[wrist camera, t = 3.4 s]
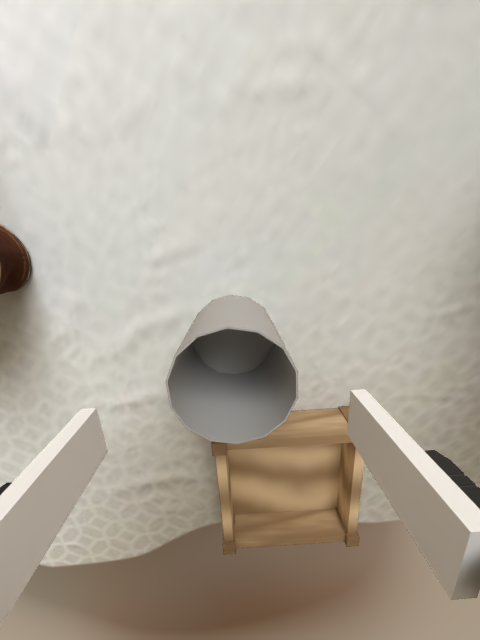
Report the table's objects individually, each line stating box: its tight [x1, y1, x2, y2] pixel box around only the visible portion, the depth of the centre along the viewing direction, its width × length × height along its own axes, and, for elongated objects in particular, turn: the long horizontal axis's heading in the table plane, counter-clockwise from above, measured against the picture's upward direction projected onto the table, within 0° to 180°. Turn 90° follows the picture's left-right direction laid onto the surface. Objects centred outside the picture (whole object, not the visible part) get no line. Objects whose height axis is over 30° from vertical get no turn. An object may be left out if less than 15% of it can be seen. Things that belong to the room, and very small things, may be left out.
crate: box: [211, 406, 364, 555], centre depth 28 cm, size 15×15×4 cm
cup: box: [166, 295, 298, 444], centre depth 20 cm, size 8×8×10 cm
